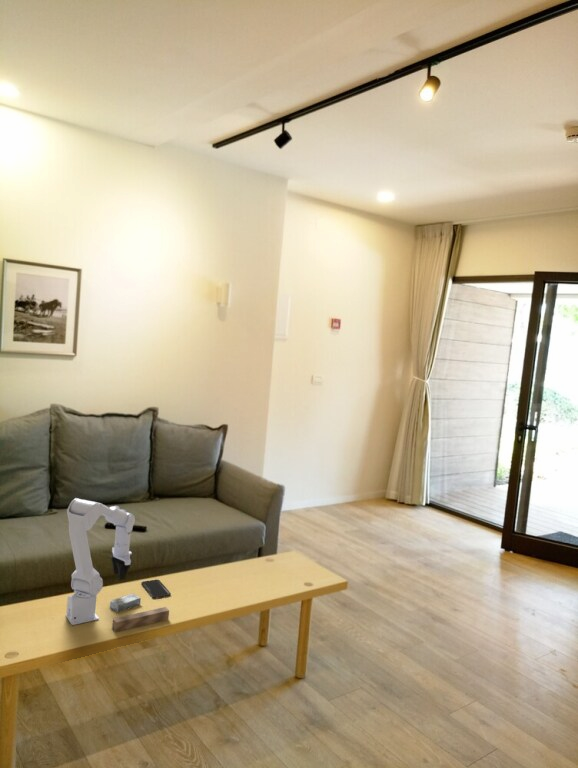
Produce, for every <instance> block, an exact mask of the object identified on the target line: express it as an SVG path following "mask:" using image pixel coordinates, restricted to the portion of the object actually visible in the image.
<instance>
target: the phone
mask: <svg viewBox="0 0 578 768" xmlns="http://www.w3.org/2000/svg"><path fill="white" fill-rule="evenodd" d="M140 585H141V586H142V587H143V589H144V588H145V589H144V590H145V592H146V593H147V594H148V595H149V596H150V598H151V597H152V598H151V599H154V600H156V598H157V599H162V598H161V597H163V598H168V597H167V596H169V597H170V595H171V592H170V591H169V589H168V588H167V587H166V585H164V583H162V582H161V580H159V579H151V580H145V581H144V580H143V581H141V584H140Z"/></svg>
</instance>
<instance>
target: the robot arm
mask: <svg viewBox="0 0 578 768" xmlns="http://www.w3.org/2000/svg"><path fill="white" fill-rule="evenodd" d="M66 514H67V520H68V536H69V541H70V545H71V550H72V555H73V560H74V564H75V565H74V566H75V570H74V571H73V572H72V573H71V582H70V587H71V589H72V590H73V594H71V595H69V596H68V597H67V602H66V612H65V613H66V614H65V617H66V618H67V620H68V621H69V623H70V624H71V625H72V626H74V625H79V624H84V623H88V622H92V621H97V620H99V619H100V618H99V616H98V615H97V613H96V610H97V609H96V606H97V595H99V594H100V592H101V591H102V589H103V586H104V582H103V581H104V579H103V578H102V577H101V576H100V573H99V571H98V570H96V569H95V567H94V566H93V561H92V557H91V556H92V555H91V551H90V550H91V549H90V543H89V541H88V534H87V531H90V530H91V529H92V528H93V526H94V525H95V523H96V522H97V521H98V519H99V518H100V517H102V516H103V517H104V520H106V522H108V523H111V524H113V526H115V535H114V545H113V547H112V548H111V553H112V555H109V558H110V561H111V565H112V570H113V574H114V575H118V580H119V581H122V580H125V579H126V576H127V574H128V571H129V569H130V568H131V566H132V563H133V561H132V559H131V558H130V556H131V555H132V554H133V553H132V551H131V550H130V545H131V534H132V533H131V532H133V527H134V525H135V522H136V519H135V515H134V514H133V513H131V512H127V510H126V509H122V508H121V509H120V506H118V505H114V506H110V507H108V506H107V505H105V504H103V503H101V502H97V501H92V500H88V499H81V498H78V497H75V498H74V499H73V500H71V502H70V503H69V505H68V507H67V509H66Z"/></svg>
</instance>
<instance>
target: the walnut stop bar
mask: <svg viewBox="0 0 578 768" xmlns="http://www.w3.org/2000/svg"><path fill="white" fill-rule="evenodd" d="M169 617H170V609H169V608H167V607H166V606H163V607H159V608H155V609H150V610H146V611H141V612H137V613H132V614H128V615H122V616H118V617H114V618H112V624H111V625H112V626H111V629H112V630H113V631H114V633H118V632H121V631H120V630H122V631H125V629H126V630H130V629H129V628H131V629H134V627H135V628H139V627H143V626H147V625H151V623H152V624H155V623H160V622H164V621H167V620H169ZM163 620H164V621H163ZM117 631H118V632H117Z"/></svg>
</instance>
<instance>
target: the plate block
mask: <svg viewBox="0 0 578 768" xmlns="http://www.w3.org/2000/svg"><path fill="white" fill-rule="evenodd" d="M141 599H142V598H141V597H140V596H138V595H136V594H135V593H130V594H127V595H124V596H121V597H117V598H115V599H112V600H110V603H109V609H112V611H114V610H115V612H116V613H120V611H121V612H123V611H127V610H129V609H132V608H133V607H137V606H140V605H141ZM128 608H129V609H128Z"/></svg>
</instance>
